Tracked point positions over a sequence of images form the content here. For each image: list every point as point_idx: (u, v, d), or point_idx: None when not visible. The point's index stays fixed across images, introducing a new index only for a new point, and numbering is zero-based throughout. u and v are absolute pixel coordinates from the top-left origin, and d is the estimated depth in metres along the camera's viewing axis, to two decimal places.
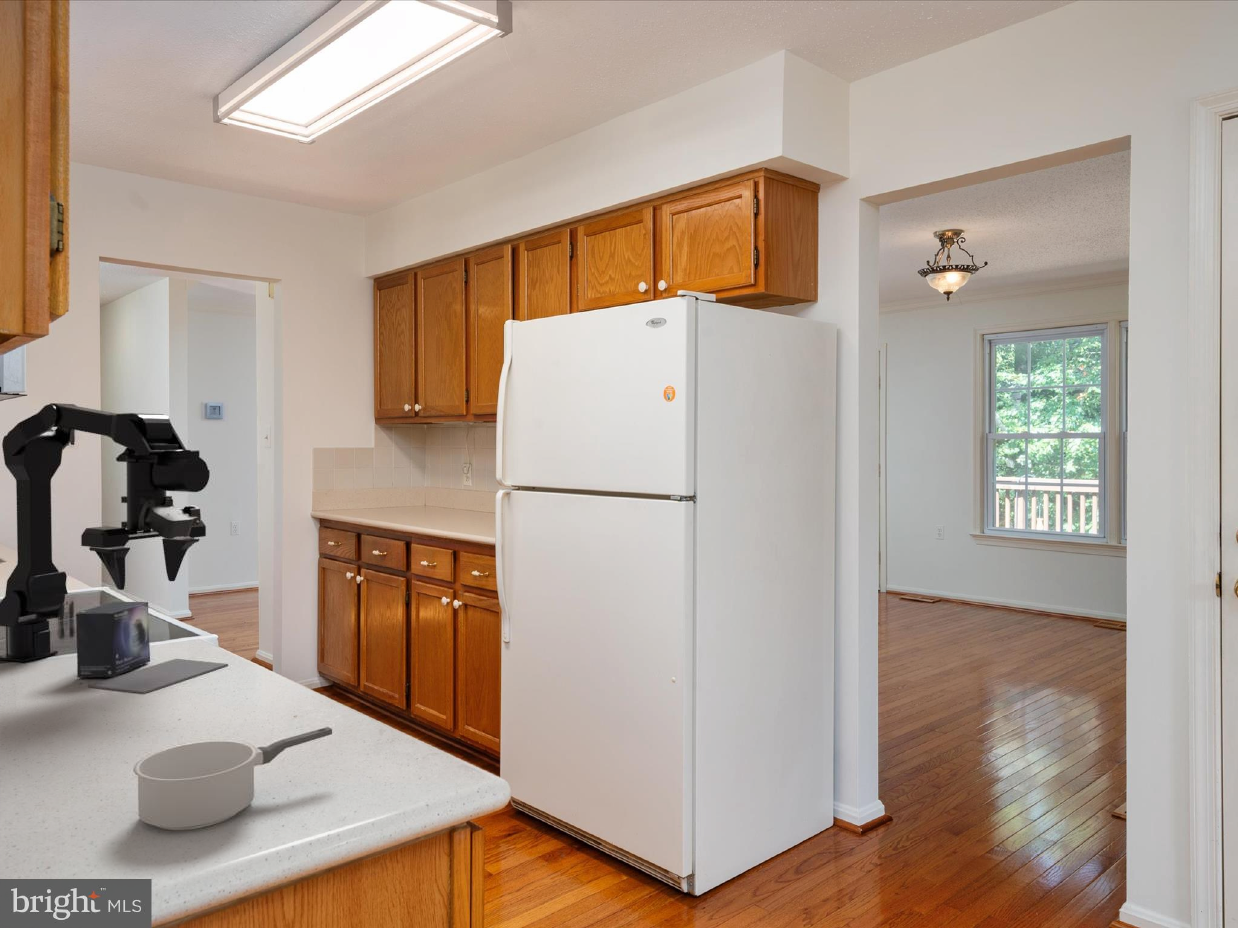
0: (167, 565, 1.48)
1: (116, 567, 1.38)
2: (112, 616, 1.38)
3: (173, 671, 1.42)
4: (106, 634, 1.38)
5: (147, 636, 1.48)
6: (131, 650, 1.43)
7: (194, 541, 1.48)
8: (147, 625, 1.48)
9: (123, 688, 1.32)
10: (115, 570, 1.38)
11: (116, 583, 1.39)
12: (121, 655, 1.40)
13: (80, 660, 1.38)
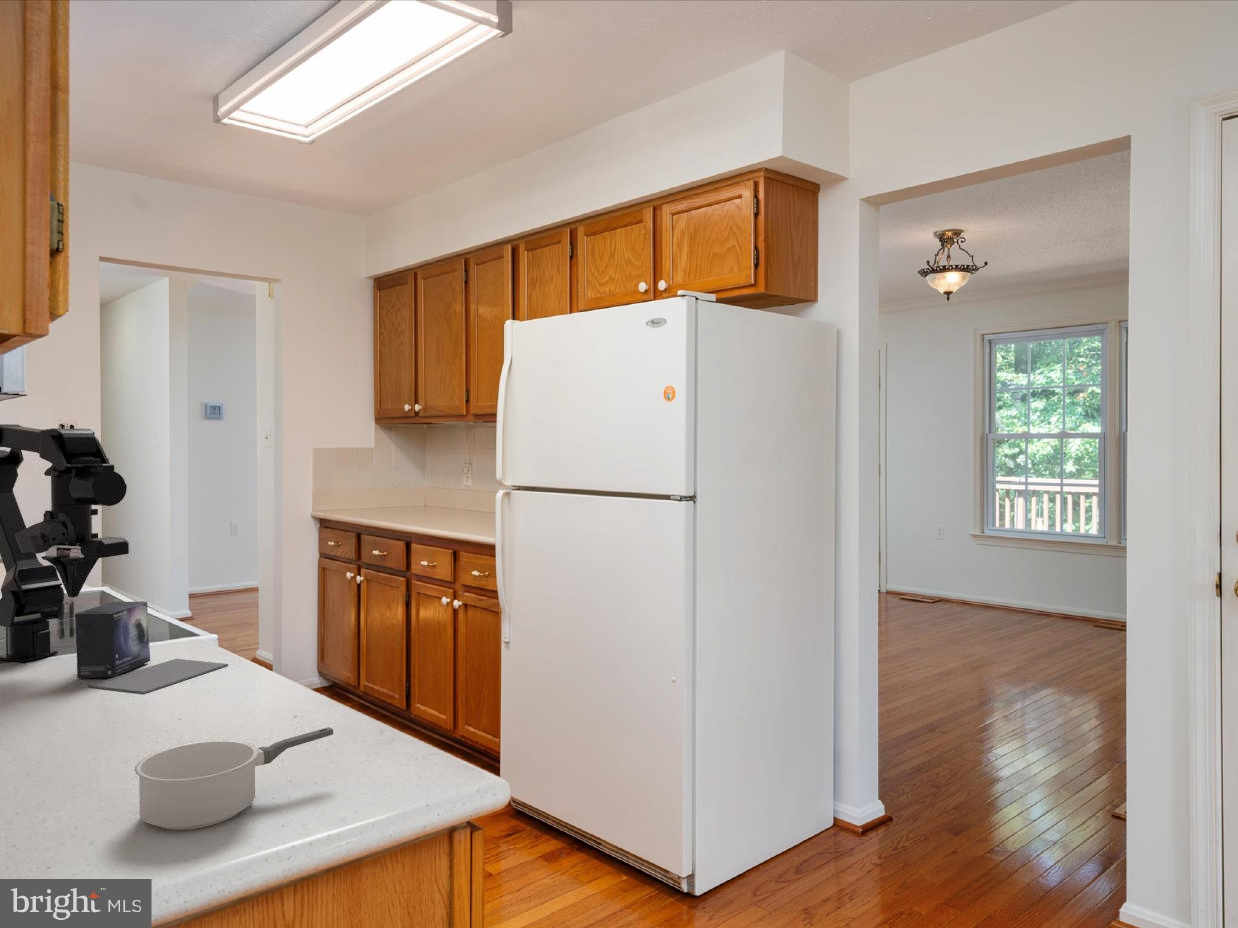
0: None
1: None
2: (111, 616, 1.38)
3: (173, 671, 1.42)
4: (105, 635, 1.38)
5: (147, 636, 1.48)
6: (131, 650, 1.43)
7: (67, 560, 1.42)
8: (146, 625, 1.48)
9: (123, 688, 1.32)
10: None
11: None
12: (121, 655, 1.40)
13: (80, 660, 1.38)
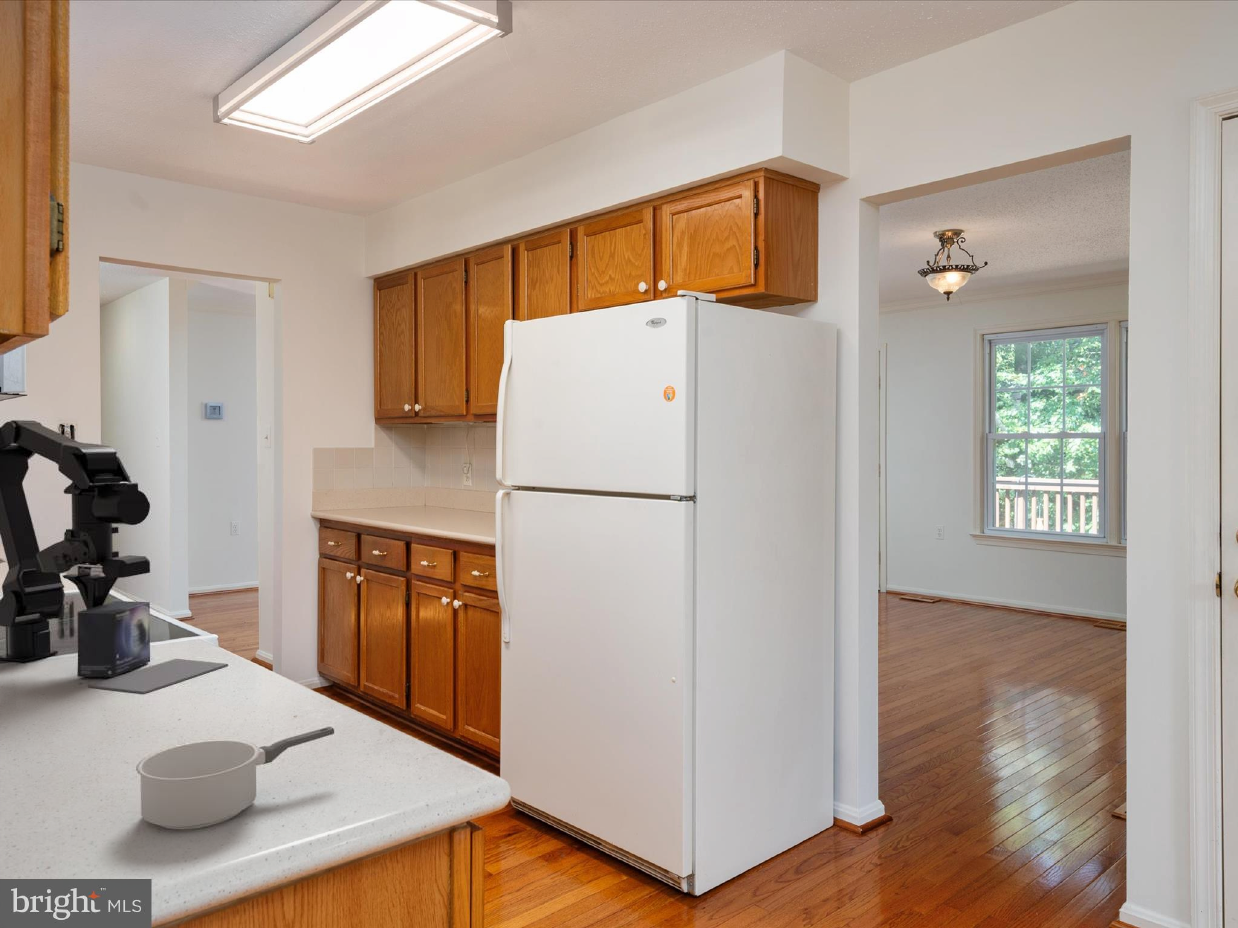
0: None
1: None
2: (114, 616, 1.38)
3: (173, 671, 1.42)
4: (107, 634, 1.38)
5: (148, 636, 1.48)
6: (132, 650, 1.43)
7: (88, 579, 1.41)
8: (148, 625, 1.48)
9: (123, 688, 1.32)
10: None
11: None
12: (122, 655, 1.40)
13: (80, 659, 1.38)
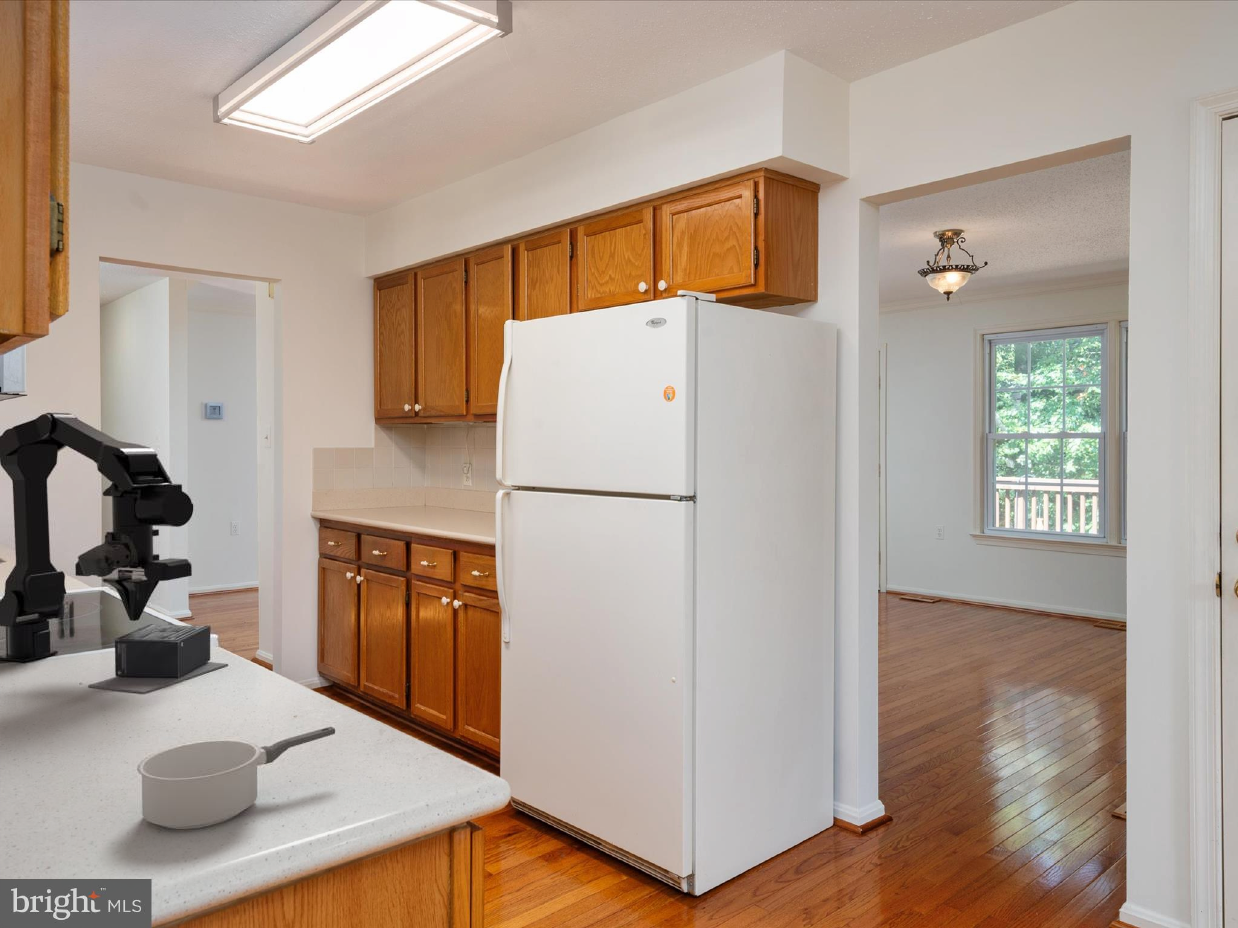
0: None
1: None
2: (175, 677, 1.38)
3: None
4: (156, 671, 1.38)
5: None
6: None
7: (130, 583, 1.38)
8: None
9: (123, 688, 1.32)
10: None
11: None
12: None
13: (131, 644, 1.38)
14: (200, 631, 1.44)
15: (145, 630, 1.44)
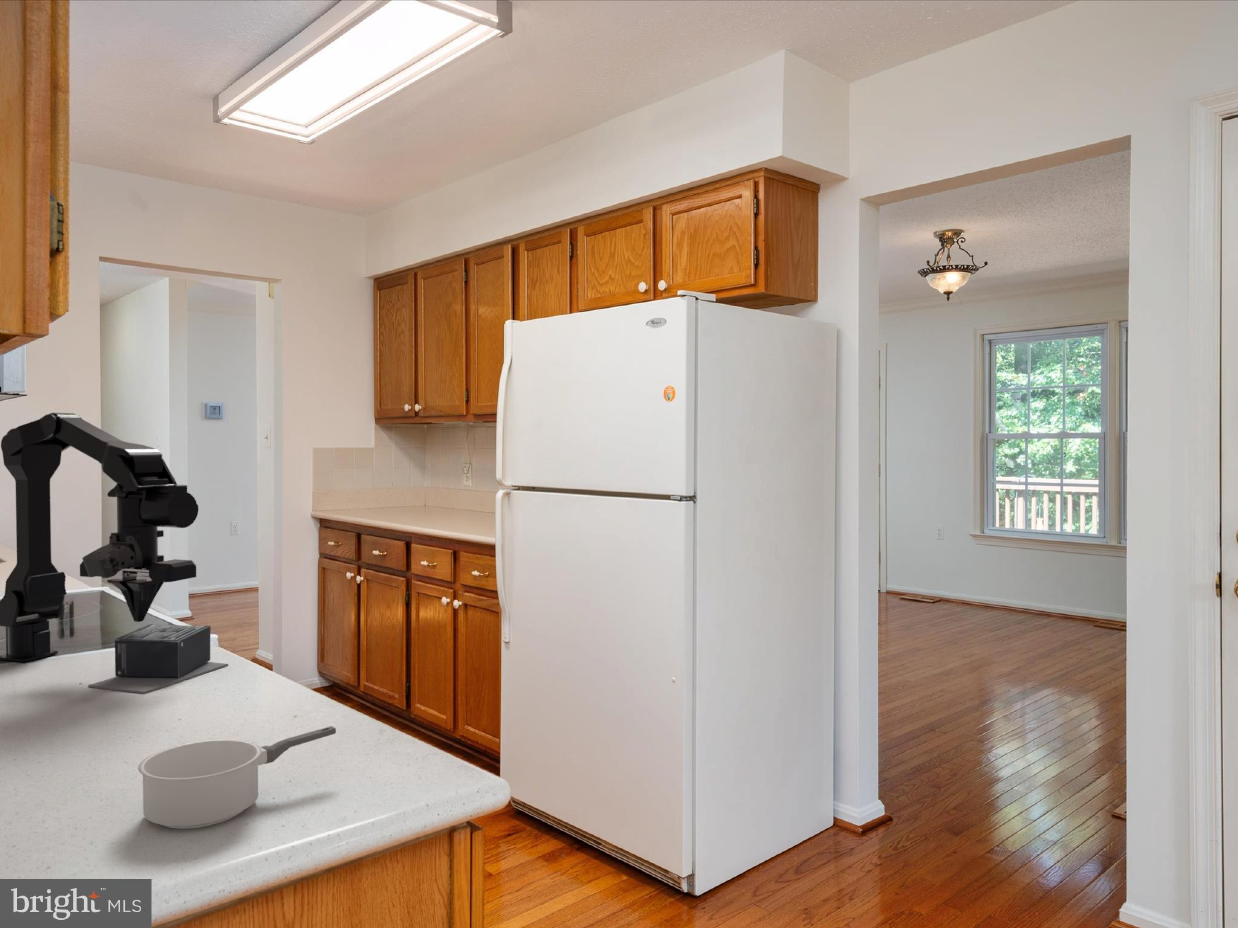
0: None
1: None
2: (175, 677, 1.38)
3: None
4: (156, 671, 1.38)
5: None
6: None
7: (135, 584, 1.38)
8: None
9: (123, 688, 1.32)
10: None
11: None
12: None
13: (131, 644, 1.38)
14: (200, 631, 1.44)
15: (145, 630, 1.44)
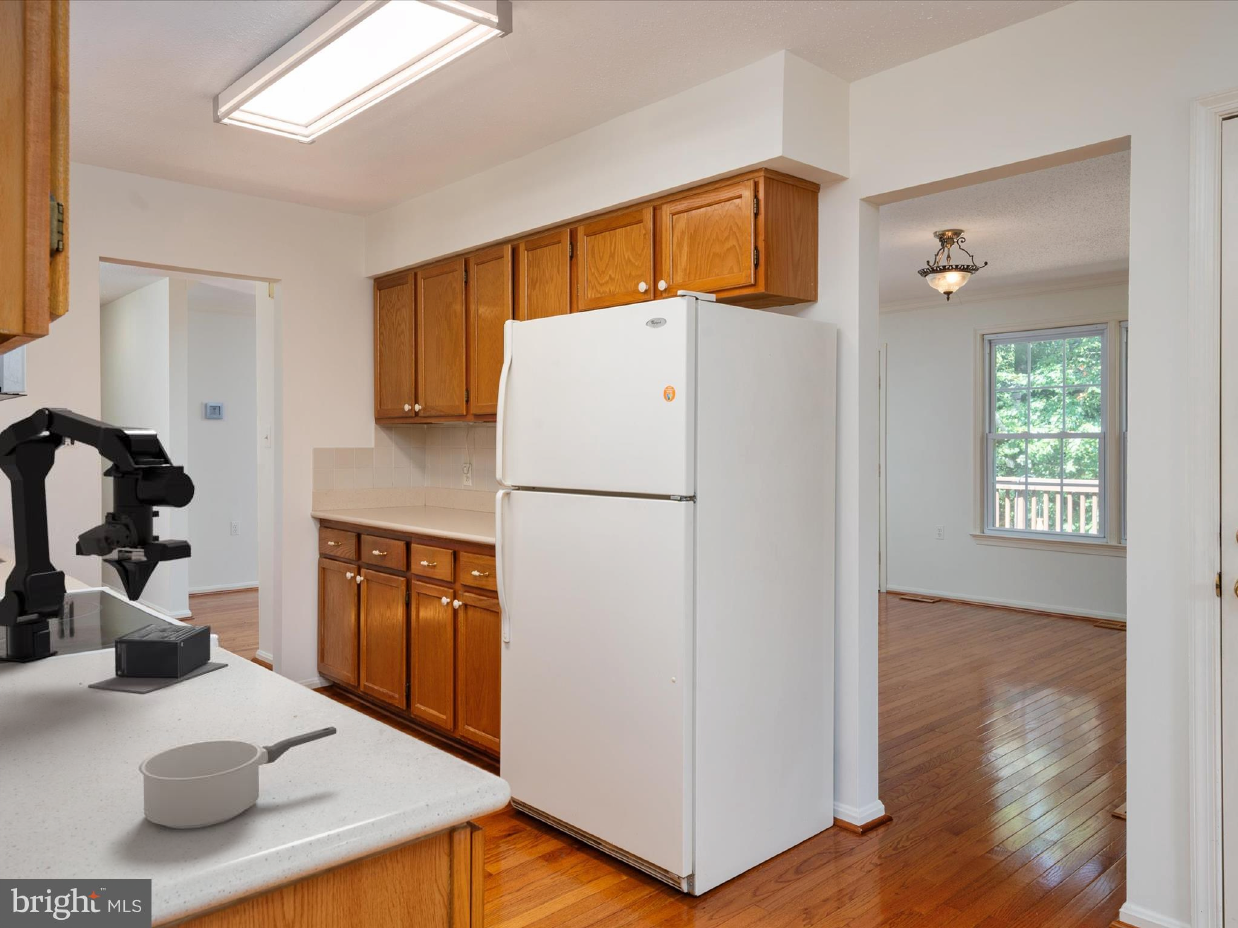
0: None
1: None
2: (175, 677, 1.38)
3: None
4: (156, 671, 1.38)
5: None
6: None
7: (130, 563, 1.39)
8: None
9: (123, 688, 1.32)
10: None
11: None
12: None
13: (131, 644, 1.38)
14: (200, 631, 1.44)
15: (145, 630, 1.44)
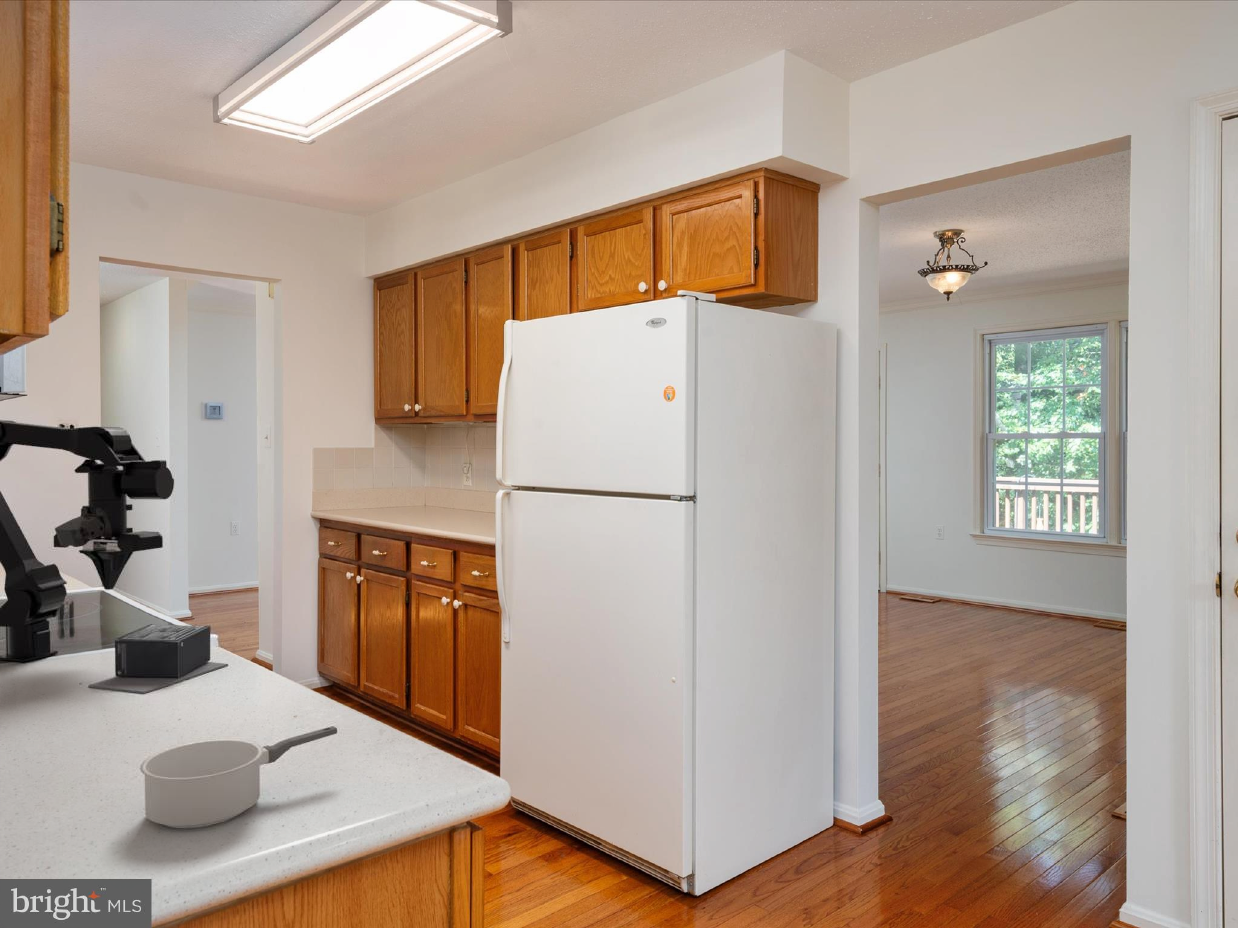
0: None
1: None
2: (175, 677, 1.38)
3: None
4: (156, 671, 1.38)
5: None
6: None
7: (104, 553, 1.48)
8: None
9: (123, 688, 1.32)
10: None
11: None
12: None
13: (131, 644, 1.38)
14: (200, 631, 1.44)
15: (145, 630, 1.44)
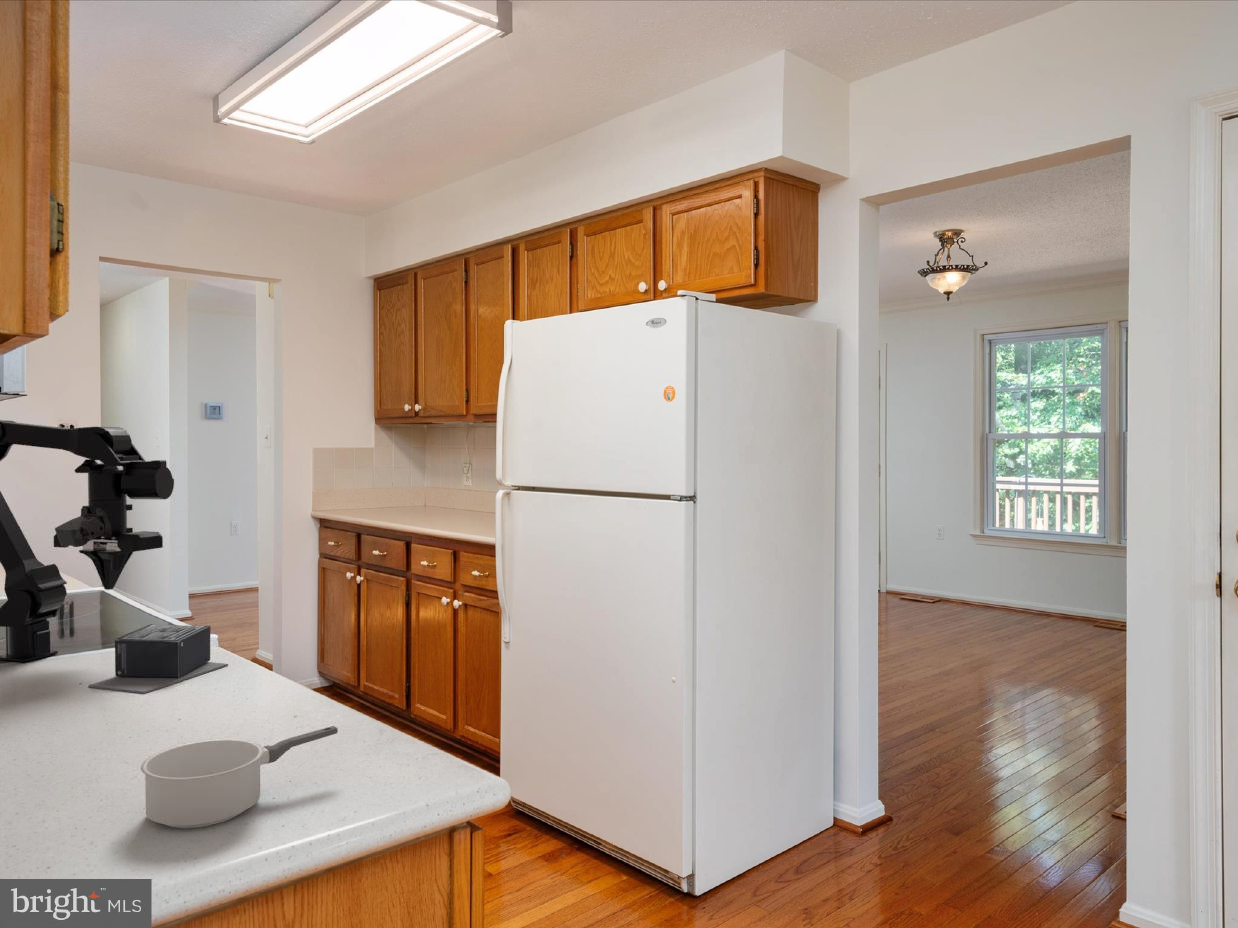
0: None
1: None
2: (175, 677, 1.38)
3: None
4: (156, 671, 1.38)
5: None
6: None
7: (104, 553, 1.48)
8: None
9: (123, 688, 1.32)
10: None
11: None
12: None
13: (131, 644, 1.38)
14: (200, 631, 1.44)
15: (145, 630, 1.44)
